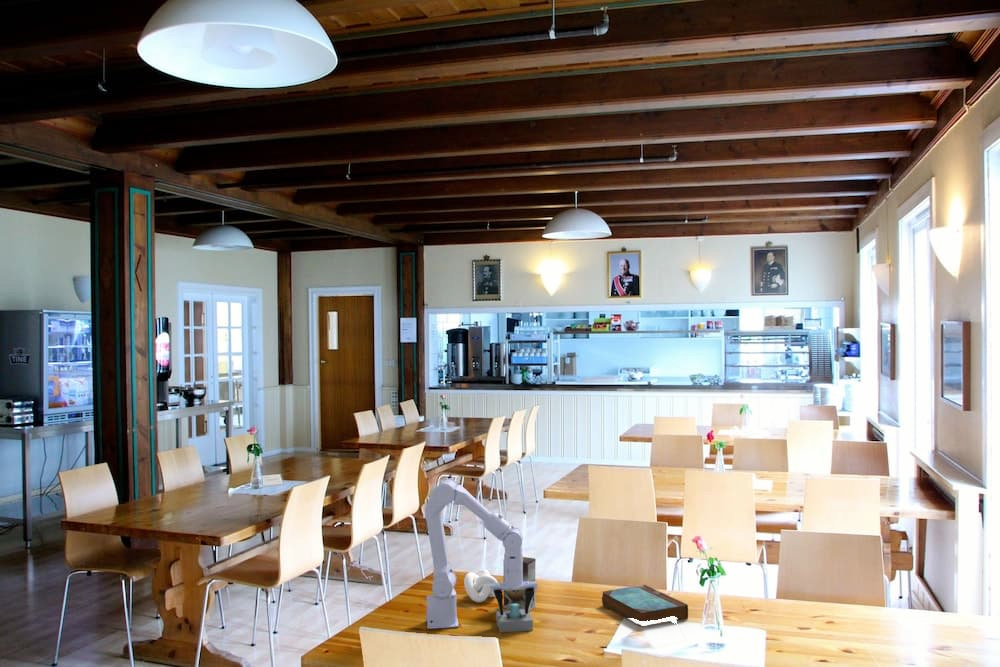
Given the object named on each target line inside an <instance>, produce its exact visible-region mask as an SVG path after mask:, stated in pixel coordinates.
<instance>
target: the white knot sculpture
mask: <svg viewBox="0 0 1000 667" xmlns="http://www.w3.org/2000/svg"><path fill="white" fill-rule="evenodd" d="M463 583H464V589H465V592H466V593H467V596H468V597H469V598H470V599H471V600H472V601H474V602H475V603H483V602H484V601H486V600H487V599H488V598H493V597H495V594H494V592H491V591H490V584H493V583H499V582H498V580H497V579H496V578H495V577H494V576H492V575H491V573H490V572H489V570H488V569H485V568H484V569H481V570H479V571H478V572H476V573H475V572H471V571H470V572H468V573H466V575H465V577H464V579H463Z"/></svg>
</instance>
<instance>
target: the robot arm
mask: <svg viewBox="0 0 1000 667" xmlns="http://www.w3.org/2000/svg"><path fill="white" fill-rule="evenodd" d="M452 502H453V503H452ZM450 503H452V504H453V505H454V506H455V505H456V506H460V505H461V506H464V507H465V508H466V509H468V510H469V511H470V512H472V513H473V514H474V515H475V516H477V517H478V518H479V519H481V521H483V527H484V528H485V529H486V531H488V532H489V533H491V534H492V535H493V536H494V537H495V538H496V539H497V540H498V541H501V542H502V546H503V548H504V554H503V560H504V561H503V581H500V582H498V583H493V584H490V591H491V592H494V594H495V596H494V597H495V598H496V601H497V604H498V608H499V611H500V614H501V615H503V610H504V593H503V592H504V590H523V589H524V591H525V613H526V614H528V610H529V605H530V602H531V600H532V598H533V596H534V590H535V591H536V590H538V582H537V581H536V580H535V581H534V582H532V581H523V557H524V556H523V547H522V546H523V539H524V536H523V533H522V531H521V529H520V528H518V527H515V525H513V524H510V523H509V522H508V521H507V520H506V519H504V518H503V517H504V515H503V514H502V513H498V512H490V511H489V510H488V509H487V508H486V507H485V506H484V505H483V504H482V503H481V502H480V501H478V499H476V498H475V497H474V496H473V495H472V494H471V493H470V492H469V491H468V490H467V489H466V488H465V487H464V486H462V485H461V484H458V482H457V481H456V480H455V479H453V478H446V479H444V480H442V481H441V482H440V483H439V484H438V485H437V486H436V487H435V489H434V490H433V491H432V492H431V494H430V497H429V499H428V501H427V502H426V506H425V507H424V514H425V520H426V525H427V532H428V540H429V544H430V550H431V556H432V563H433V570H432V571H433V573H432V574H433V575H432V576H433V582H432V586H431V588H432V593H433V594H432V595H427V596H426V614H425V621H426V624H427V625H426V626H427V630H428V629H429V630H430V629H431V630H432V629H449V628H459V627H460V626H459V620H458V616H457V612H458V611H457V591H456V590H455V586H456V584H457V574H456V573H455V572H454V569H453V566H452V564H451V561H450V558H449V557H450V556H449V552H448V546H447V538H446V532H445V528H444V520H443V516H442V515H443V514H442V511H443V510H444V508H445V507H446V506H448V505H450Z"/></svg>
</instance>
